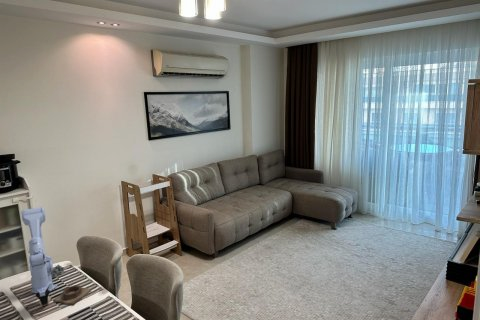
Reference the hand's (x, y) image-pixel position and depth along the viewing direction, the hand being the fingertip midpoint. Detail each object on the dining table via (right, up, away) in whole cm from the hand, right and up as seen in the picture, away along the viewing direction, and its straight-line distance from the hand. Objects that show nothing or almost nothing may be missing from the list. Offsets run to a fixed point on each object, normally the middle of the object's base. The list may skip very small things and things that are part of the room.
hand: (45, 301), depth 155 cm
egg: (0, +1, 0) cm, 1 cm away
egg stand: (+10, 0, +6) cm, 12 cm away
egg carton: (-11, +3, +26) cm, 29 cm away
